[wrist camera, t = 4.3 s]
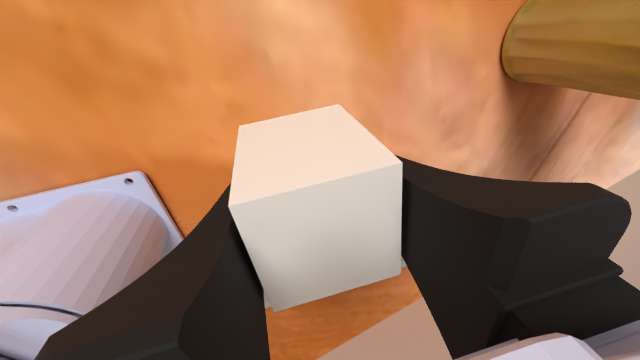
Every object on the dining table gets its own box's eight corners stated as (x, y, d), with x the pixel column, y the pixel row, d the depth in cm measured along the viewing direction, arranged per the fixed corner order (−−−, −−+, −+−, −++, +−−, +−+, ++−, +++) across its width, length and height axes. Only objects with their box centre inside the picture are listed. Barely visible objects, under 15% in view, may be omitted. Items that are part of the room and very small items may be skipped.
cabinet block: (269, 218, 14) (279, 325, 9) (239, 125, 11) (228, 206, 6) (349, 197, 15) (400, 288, 10) (338, 104, 12) (402, 162, 7)
